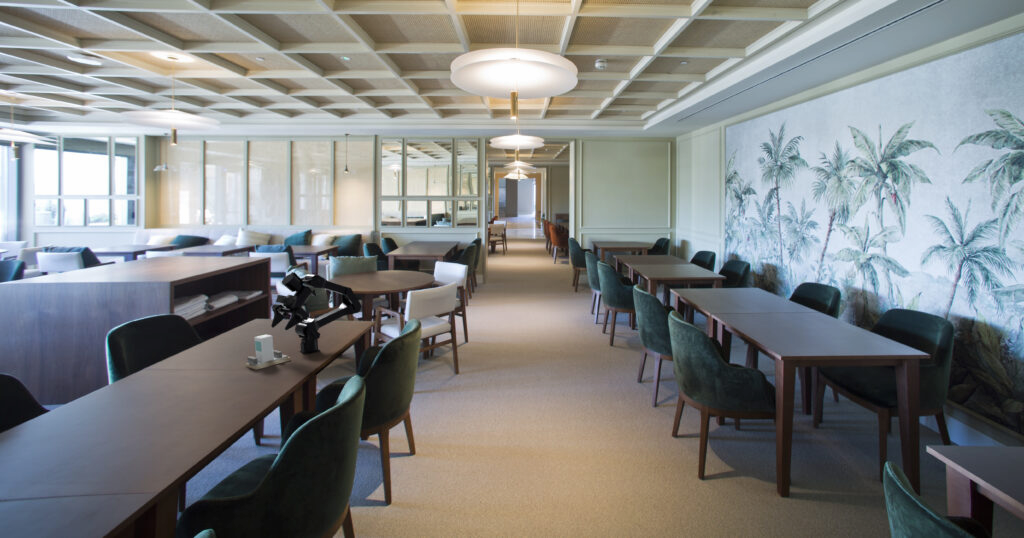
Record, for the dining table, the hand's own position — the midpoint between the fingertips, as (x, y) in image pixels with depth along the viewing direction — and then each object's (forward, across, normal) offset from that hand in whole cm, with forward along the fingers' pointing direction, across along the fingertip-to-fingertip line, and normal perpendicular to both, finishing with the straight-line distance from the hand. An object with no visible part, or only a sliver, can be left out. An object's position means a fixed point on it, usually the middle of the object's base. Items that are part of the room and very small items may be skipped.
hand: (278, 328), depth 216 cm
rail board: (+14, 0, +6) cm, 15 cm away
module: (+13, 0, +3) cm, 14 cm away
